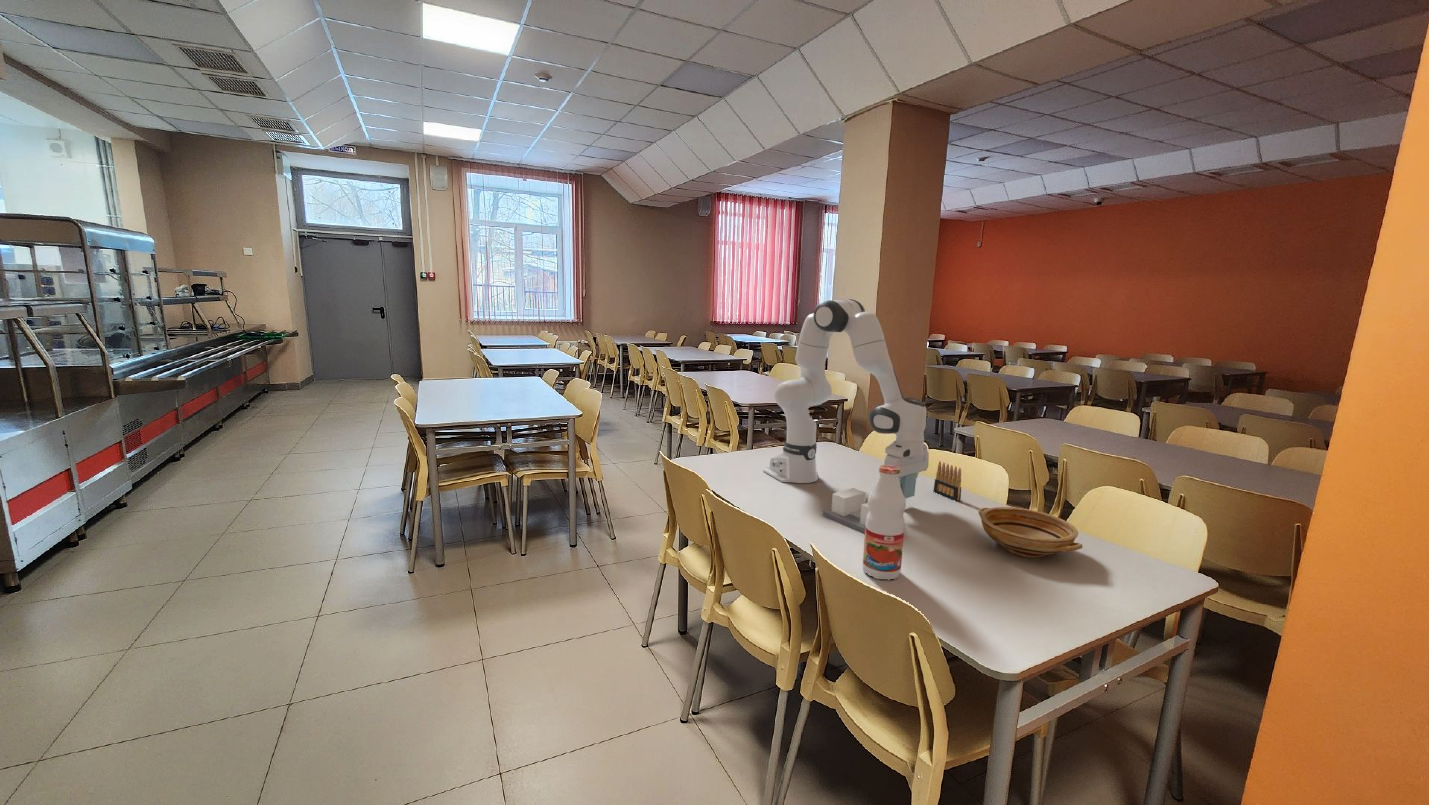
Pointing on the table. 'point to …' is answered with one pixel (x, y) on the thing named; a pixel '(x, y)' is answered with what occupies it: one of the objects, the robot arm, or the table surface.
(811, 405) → the robot arm
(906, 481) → the block
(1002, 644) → the table surface
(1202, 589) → the table surface
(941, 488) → the ammunition clip
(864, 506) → the board
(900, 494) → the fruit juice
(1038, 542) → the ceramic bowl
